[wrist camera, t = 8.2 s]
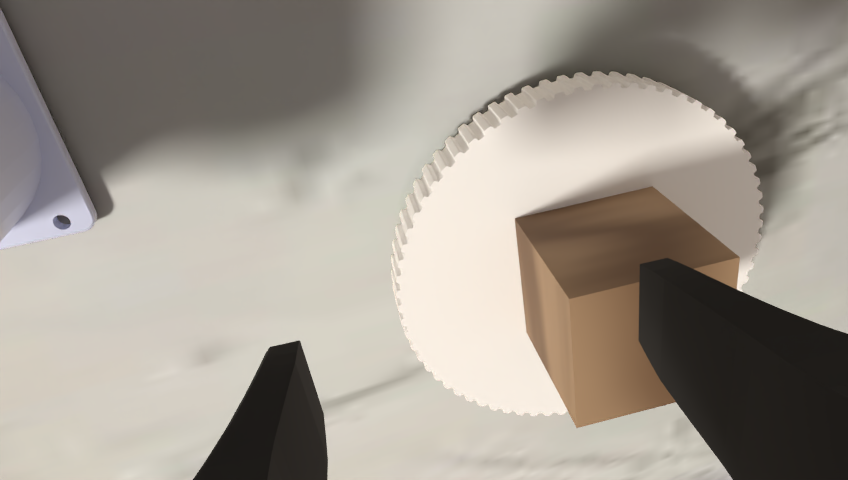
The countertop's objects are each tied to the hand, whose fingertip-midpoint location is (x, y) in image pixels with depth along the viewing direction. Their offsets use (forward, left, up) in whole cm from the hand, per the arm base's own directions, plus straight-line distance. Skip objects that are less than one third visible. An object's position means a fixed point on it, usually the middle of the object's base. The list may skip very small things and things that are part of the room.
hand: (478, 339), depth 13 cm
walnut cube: (+6, -5, -8) cm, 11 cm away
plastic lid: (+6, -5, -11) cm, 13 cm away
